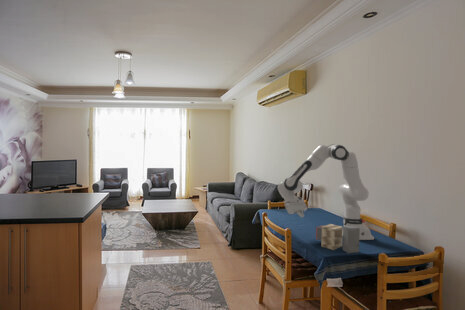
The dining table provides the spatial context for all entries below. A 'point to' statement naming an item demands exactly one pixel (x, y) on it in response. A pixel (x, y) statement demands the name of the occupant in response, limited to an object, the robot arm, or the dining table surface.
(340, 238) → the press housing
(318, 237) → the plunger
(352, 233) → the skincare box
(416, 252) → the dining table surface
